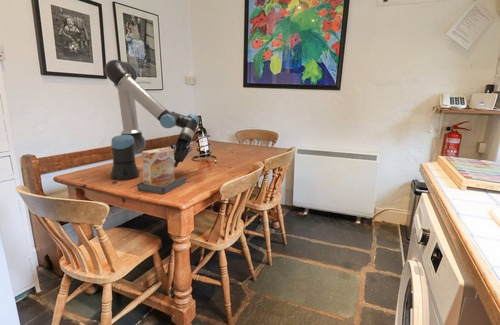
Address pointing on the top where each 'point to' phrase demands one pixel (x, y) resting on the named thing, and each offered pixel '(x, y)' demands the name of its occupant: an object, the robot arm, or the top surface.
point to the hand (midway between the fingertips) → (170, 171)
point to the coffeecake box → (158, 167)
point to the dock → (161, 189)
